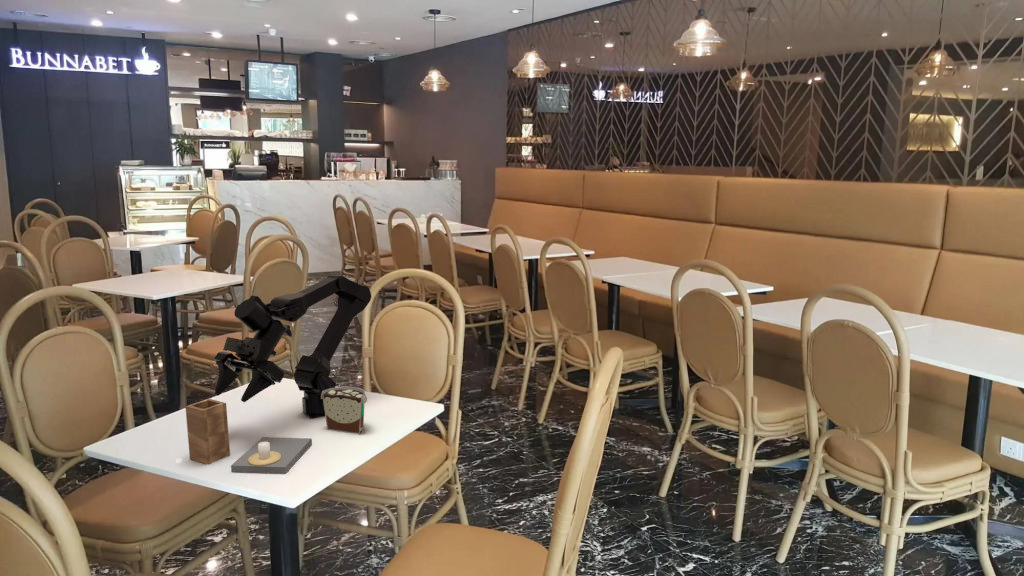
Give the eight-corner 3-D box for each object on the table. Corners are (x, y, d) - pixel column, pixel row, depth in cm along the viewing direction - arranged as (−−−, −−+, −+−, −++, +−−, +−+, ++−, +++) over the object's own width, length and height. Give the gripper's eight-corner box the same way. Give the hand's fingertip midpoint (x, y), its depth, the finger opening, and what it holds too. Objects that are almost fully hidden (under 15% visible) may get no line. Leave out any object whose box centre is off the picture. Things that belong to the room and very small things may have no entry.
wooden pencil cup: (213, 449, 161) (208, 398, 159) (230, 455, 158) (226, 403, 156) (189, 459, 156) (185, 406, 154) (207, 464, 153) (202, 410, 151)
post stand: (263, 443, 165) (261, 422, 164) (312, 444, 164) (310, 423, 163) (231, 472, 149) (229, 449, 148) (285, 473, 149) (284, 450, 148)
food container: (377, 426, 176) (376, 388, 174) (365, 435, 170) (363, 396, 168) (336, 420, 180) (334, 383, 178) (322, 429, 174) (320, 391, 172)
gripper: (217, 318, 167) (179, 374, 159) (271, 327, 157) (233, 387, 150) (247, 343, 175) (211, 397, 167) (299, 353, 165) (264, 411, 158)
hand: (229, 398), depth 160 cm, fingers open, 9 cm apart
